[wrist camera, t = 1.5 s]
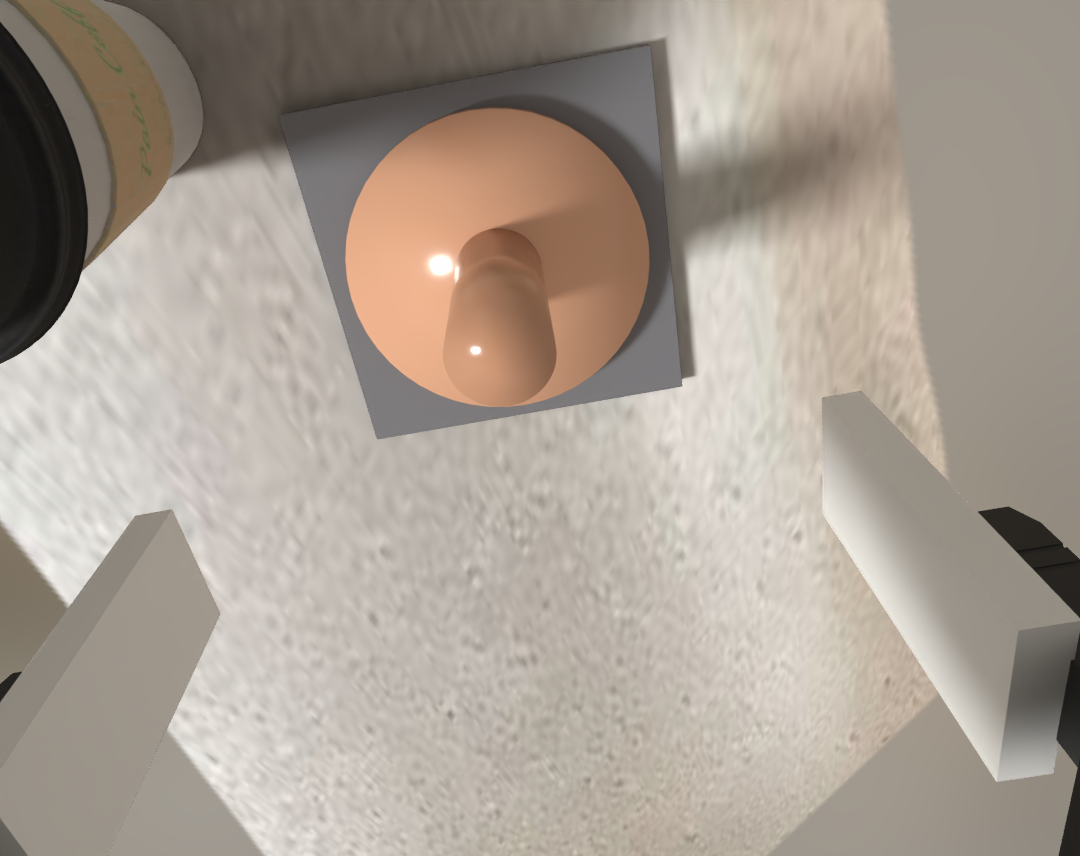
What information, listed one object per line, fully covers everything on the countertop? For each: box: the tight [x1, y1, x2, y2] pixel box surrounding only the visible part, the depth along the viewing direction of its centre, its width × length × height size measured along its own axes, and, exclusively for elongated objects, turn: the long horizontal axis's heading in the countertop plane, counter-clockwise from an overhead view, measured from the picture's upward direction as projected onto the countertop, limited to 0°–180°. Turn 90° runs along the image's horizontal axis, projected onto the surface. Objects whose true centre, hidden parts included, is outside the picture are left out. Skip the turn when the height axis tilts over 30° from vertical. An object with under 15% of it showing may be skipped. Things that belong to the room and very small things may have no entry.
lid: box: [345, 106, 649, 407], centre depth 26 cm, size 11×11×9 cm
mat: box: [278, 45, 682, 439], centre depth 31 cm, size 13×13×1 cm
